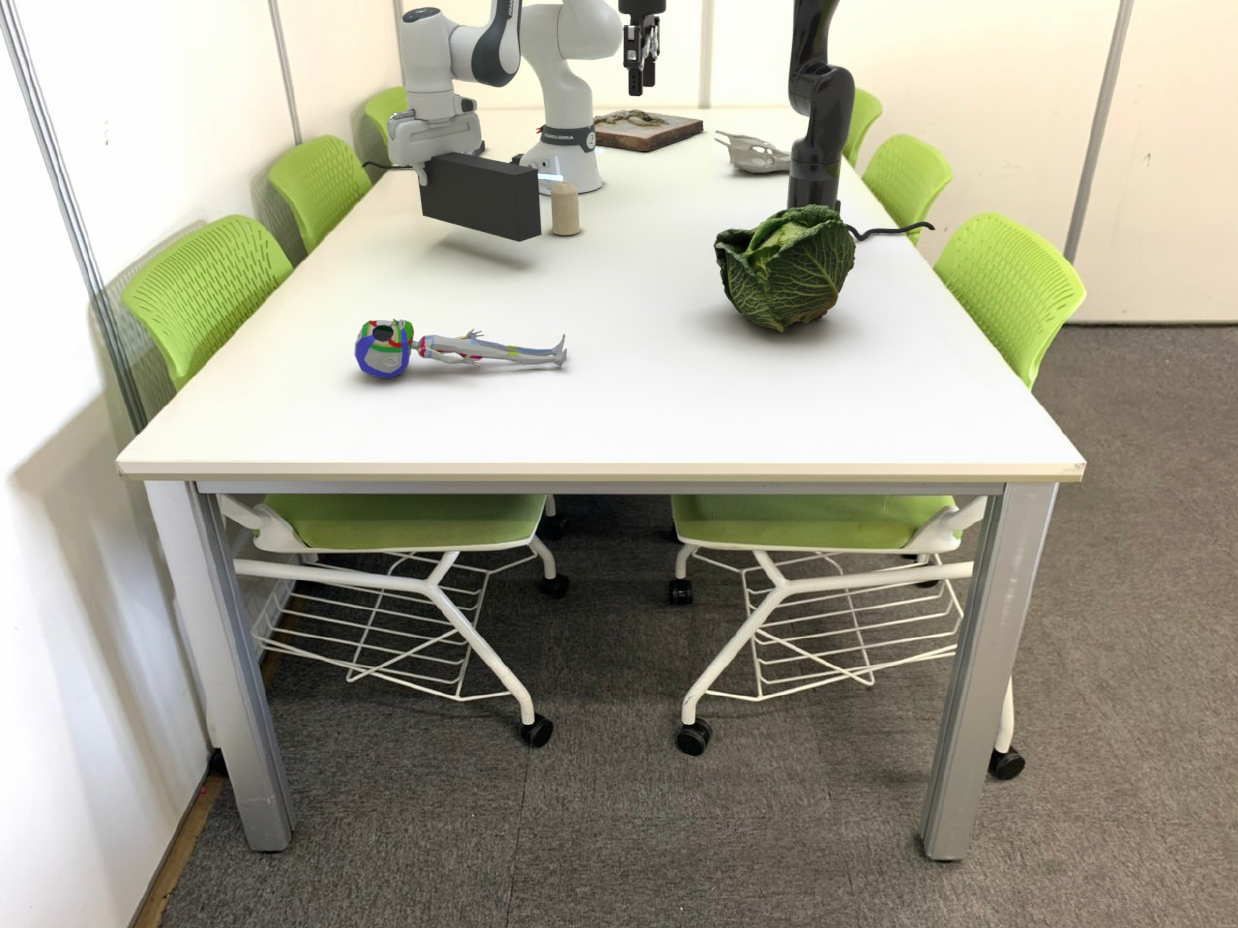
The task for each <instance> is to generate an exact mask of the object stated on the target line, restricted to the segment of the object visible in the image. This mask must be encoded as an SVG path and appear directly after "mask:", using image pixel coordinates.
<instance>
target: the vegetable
mask: <svg viewBox="0 0 1238 928" xmlns="http://www.w3.org/2000/svg"><path fill="white" fill-rule="evenodd" d="M841 220H842V218H841V214H840V215H839V213H838V212H836V211H833V210H831V209H829V206H816V205H815V204H814V205H811V204H809V205H807V206H806V207H801V208H790V209H786V208H785V209H781V210H779V211H777V212H776V213H774V214H772V215H770V216H769V217H767V219H765V220H764V221H762V222H760V223H759V224H758V226H755V227H754V228H750V229H744V228H732V227H731V228H728V229H725V230H723V231H721V232H719V233H718V234H716V236H715V240H714V244H713V248H714V252H715V256H716V261H715V262H716V264H717V265H718V267H719V268H720V270H719V275H720V279H721V281H722V282H721V284H722V285H723V292H724V294H725V296H726V298H727V299H728V301H729V302H730V303H731V304H732V306H733V307H734V309H735V310H736V311H737V312H738V313H739V315H741V314H743V315H744V316H745V317H746V318H747V319H748V320H749V321H751V322H752V323H753V324H756V325H758V326H760V327H763V328H767V329H773V330H776V331H778V332H779V333H781V334H783V333H784V331H790V329H789V328H788V327H789V326H791V325H792V324H793V323H794V322H802V323H806V324H808V323H809V322H810V321H812V320H820V319H822V318H823V316H826V315H827V314H828V311H829V310H831V309H833V308H834V307H835V306H836V304H837V302H838V300H839V293H840V292H841V291H842V289H843V287H844V283H845V281H846V278H847V277H848V274H849V272H850V271H851V270H853V269H854V266H855V262H854V261H855V260H856V259H857V258H856V257H855V254H856V249H857V245H856V243H855V240H854V239H855V237H854V236H853V235H852V234H851V232H850V231H849V228H848V227H847V225H846V224H847V223H845V224H843V223H844V222H843V223H842V222H841Z"/></svg>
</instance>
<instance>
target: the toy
mask: <svg viewBox="0 0 1238 928" xmlns="http://www.w3.org/2000/svg"><path fill="white" fill-rule="evenodd" d="M474 331H475V328H472V329H471V330H469V331H468V332H467V333H466V334H465V335H463V336H458V337H449V336H448V337H447V336H442V335H439V334H428V335H423V336H421V338H420V339H419V341H417V340H414V336H415V329H414V326H413V324H412V322H410V321H408V320H407V319H399V320H397V319H395V318H392V320H387V319H379V320H368V321H367V322H365V323H364V324H362V326H361V329H360V331H359V333H358V334H357V338H356V340H355V342H354V354H353V355H354V357H355V359H356V362H357V364H358V366H359V369H360V370H361V372H364V373H366V374H367V375H370V376H373V377H377V378H382V379H383V378H384V379H392V378H394V377H396V376H398V375H400V374H401V375H402V374H403V372H404V371H405V370H406V368H407V367H408V366H409V364H410V357H411V355H412V350H415V351H417V353H418V356H419V357H421V358H422V359H430V360H434V361H438V362H442V363H444V364H449V365H458V364H459V365H461V364H465V365H471V366H477V367H479V368H480V367H481V366H482V365H483V363H482V362H478V361H480V360H482V359H487V360H488V359H489V360H503V361H509V362H514V363H517V364H520V365H528V366H529V365H542V364H550V363H553V364H555V365H557V366H559V367H562V366H563V364H564V362H565V361H566V360H567V357H568V355H567V353H568V348H566V347H565V348H564V345H565V340H566V334H565V333H563V334H562V338H561V340H560V341H559V343H558V344H556V345H555V346H554V347H552V348H533V347H532V348H531V347H523V346H518V345H517V346H516V345H504V344H501V343H498V342H494V341H488V340H482V339H478V338H479V337H480V338H481V337H485V334H480V333H482V332H483V331H482V330H479V331H476V332H474ZM563 349H564V350H563ZM453 353H455V354H457V355H459V357H458V356H455V355H448V354H453ZM445 354H447V355H445Z"/></svg>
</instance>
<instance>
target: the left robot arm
mask: <svg viewBox="0 0 1238 928" xmlns="http://www.w3.org/2000/svg"><path fill="white" fill-rule="evenodd" d="M561 1H562V3H535V4H530V5H526V6H523V2H524V1H523V0H491V2H490V3H491V4H490V14H489V15H490V16H489V19H488V22H487V23H486V24H484V25H483V26H473V25H467V24H460V23H457V22H455V21H453V20H451V19H449V18H448V17H447V16H445V15H444V13H443V10H441V8H438V7H434V6H433V7H432V6H425V7H420V8H419V7H418V8H413V9H410V10H408V11H406V12H405V13H404V14H403V15H402V16H401V19H400V24H399V49H400V57H401V64H402V68H403V70H404V72H405V73H404V74H405V87H404V88H405V96H406V103H407V109H406V110H403V111H396V112H393V113H391V116H390V117H389V118H388V119H387V120H386V128H387V147H388V148H387V151H388V153H387V154H388V159H389V161H390V162H391V163H392V165H384V164H380V163H377V162H375V161H371V160H368V161H365V162H364V163H363V164H362V165H361V168H365V167H367V166H368V165H373V166H375V167H377V168H379V169H380V168H381V169H383V170H385V169H386V170H404V169H413V170H414V172H415V173H416V175H417V177H418V176H419V182H420V184H421V185H423V186H426V185H430V184H431V178H430V175H426V173H425V171H424V170H423V168H424V167H425V163H424V162H425V161H429V160H431V157H434V156H438V155H443V154H447V153H452V152H457V153H463V152H468V151H472V150H476V149H479V148H480V145H481V143H482V138H483V137H482V129H481V122H480V118H479V115H478V114H477V112H476V111H477V110H478V102H477V100H476V99H474V98H471V97H467V96H462V95H460V94H456V93H455V85H454V83H453V81H459V82H460V81H461V82H466V83H475V84H482V85H485V86H489V87H493V88H504V87H506V86H507V85H509V83H510V82H511V81H513V79H514V78H515V77H516V76H517V74H518V71H519V68H520V66H521V61H522V58H523V59H524V60H525V61H526V62H527V63H528V64H529V66H530V67H531V68H532V70H533V72H534V73H535V75H536V77H537V80H538V82H539V85H540V88H541V91H542V98H543V107H544V118H545V119H544V120H545V121H544V122H545V123H544V124H543V125H541V126H540V127H537V128H535V130H536V132H535V133H536V134H540V138H539V141H538V142H536V143H535V144H534V145H533V146H532V147H530V149H529V150H527V151H526V152H525V153H518V154H516V155H514V156H512V157H511V161H509V162H508V163H511V164H516V165H521V166H526V167H530V168H535V169H538V181H539V194H543V195H545V196H551V189H552V188H553V186H554V185H555V184H556V183H557V182H558V181H559V182H566V183H570V182H571V183H572V184H573V185H574V186H575V187H576V188H577V189H578V194H582V193H588V192H592V191H595V190H598V189H600V188H601V187H602V186H603V183H602V180H601V178H600V177H601V176H600V173H599V168H598V163H597V156H596V153H599V154H603V153H604V148H598V147H596V145H597V144H596V133H595V124H594V123H593V118H594V102H593V101H594V100H593V99H594V98H593V90H592V88H591V86H590V85H589V83H588V82H587V81H586V80H585V79H583V78H582V77H580V76H579V75H576V74H575V73H574V72H573V71H572V69H571V68H570V66H569V64H568V60H576V61H577V60H578V61H596V60H601V59H607V58H610V57H614V56H615V55H616V54H617V52H618V51H619V49H620V48H621V46H622V43H623V41H624V31H623V28H624V25H623V22H622V18H621V17H620V15H619V14H618V12H617V11H616V10H615V9H614V8H613V7H612V6H611V5H609V4H608V3H607V2H606V0H561ZM419 182H418V183H419Z"/></svg>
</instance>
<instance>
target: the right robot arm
mask: <svg viewBox="0 0 1238 928" xmlns="http://www.w3.org/2000/svg"><path fill="white" fill-rule="evenodd" d="M792 1H793V3H792V35H791V37H792V39H791V48H790V57H789V67H788V78H787V96H788V97H787V98H788V102H789V105H790V106H791V108H792V110H793V111H795V113H797V114H799V115H801V116H803V117H807V118H808V125H807V130H806V134H805V135H804V136H802V137H798V138H797V139H795V140H794V141H793V142H792V144H791V151H790V152H791V160H790V170H789V174H788V183H787V184H788V185H787V195H786V196H787V198H786V206H785V207H786V208H785V209H790V208H801V207H806V206H807V205H809V204H811V205H814V204H815V205H816V206H829V209H831V210H833V211H836V212H838V213H839V215H840V216H841V207H842V201H841V200H840V199H838V194H839V185H840V177H841V176H840V175H841V166H842V159H843V152H844V149H845V147H846V145H847V144H848V140H849V137H850V131H851V125H852V120H853V113H854V109H855V102H856V81H855V78H854V76H853V74H852V72H851V71H850V70H849V69H847V68H846V67H843V66H840V65H837V64H832V63H829V54H828V52H829V33H830V28H831V24H832V20H833V18H834V15H835V13H836V11H837V9H838V7H839V4H840V2H841V0H792ZM617 10H618V12H619V13H620V14H621V15H622V14H623V15H629V18H630V19H629V24H624V25H623V40H622V43H623V52H622V53H623V55H622V56H623V57H622V59H623V62H622V65H623V68H624V69H626V71H627V74H628V75H627V76H628V77H627V79H628V80H627V82H628V83H627V84H628V85H627V86H628V89H627V90H628V91H627V92H628V95H629V96H630V97H641V96H642V95H644V88H653V87H655V86H656V68H657V67H656V65H657V64H656V63H657V61H658V57H659V56H660V54H661V41H660V40H661V39H660V37H661V35H660V34H661V32H660V31H661V30H660V29H661V28H660V24H661V23H660V22H661V18H660V16H659V15H661V14H664V13H665V12H666V11H667V0H617ZM841 222H842V223H843V224H846V225H847V227H848V228H849V233H852V236H853V237H854V239H857V240H858V241H864V240H866V239H867V238H868V237H869V236H871V235H875V234H884V235H885V234H887V235H888V234H889V235H898V234H903V233H907V232H910V231H912V230H915V229H918V228H922V227H923V228H927V229H928V230H929V231H936V230H937V229H936V227H935V226H934V225H933V224H932V223H930V222H928V221H918V222H916V223H915V222H914V223H912V224H910V225H907V226H904V227H898V228H885V227H883V228H882V227H876V228H870V229H868V230H866V231H865V232H863V233H862V234H861V233H860V232H859V231H858V230H857V228H856V227H854V226H853V225H850V224H849V223H845V222H844V220H843V219H841Z"/></svg>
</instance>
